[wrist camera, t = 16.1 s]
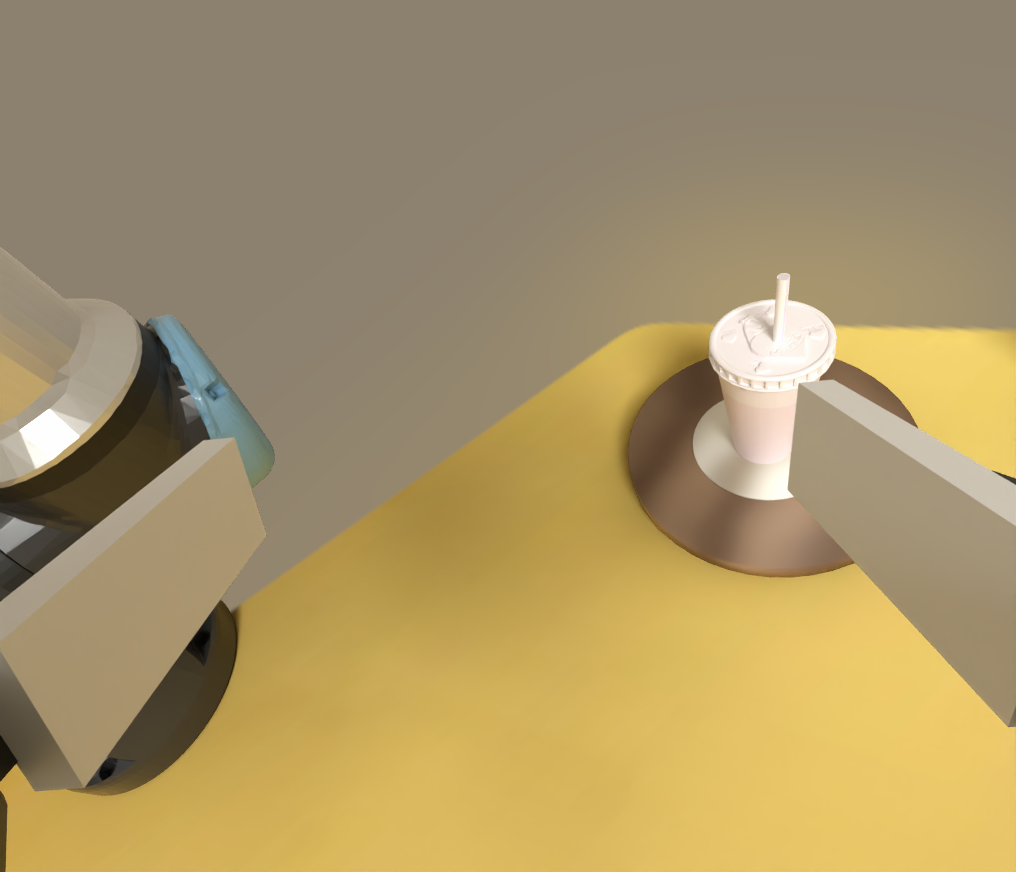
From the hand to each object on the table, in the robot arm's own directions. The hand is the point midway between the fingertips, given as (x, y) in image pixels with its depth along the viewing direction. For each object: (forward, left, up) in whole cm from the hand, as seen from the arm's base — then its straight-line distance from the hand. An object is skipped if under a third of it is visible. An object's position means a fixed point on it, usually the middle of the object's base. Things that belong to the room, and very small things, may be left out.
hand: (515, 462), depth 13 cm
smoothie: (+2, +19, -23) cm, 30 cm away
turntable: (+2, +19, -25) cm, 31 cm away
